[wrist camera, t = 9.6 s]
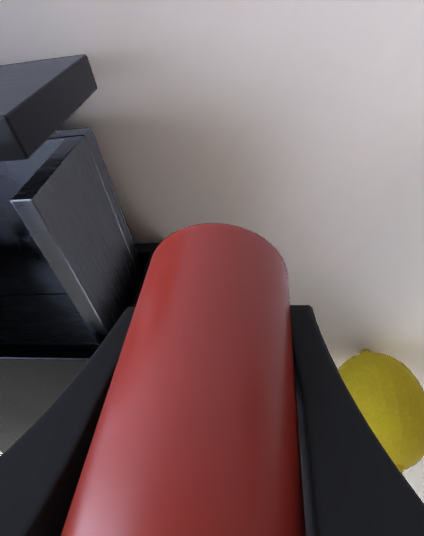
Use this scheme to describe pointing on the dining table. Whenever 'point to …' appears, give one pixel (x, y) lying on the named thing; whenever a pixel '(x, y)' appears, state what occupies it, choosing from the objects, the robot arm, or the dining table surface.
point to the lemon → (388, 404)
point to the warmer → (43, 373)
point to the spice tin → (200, 400)
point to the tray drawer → (58, 213)
